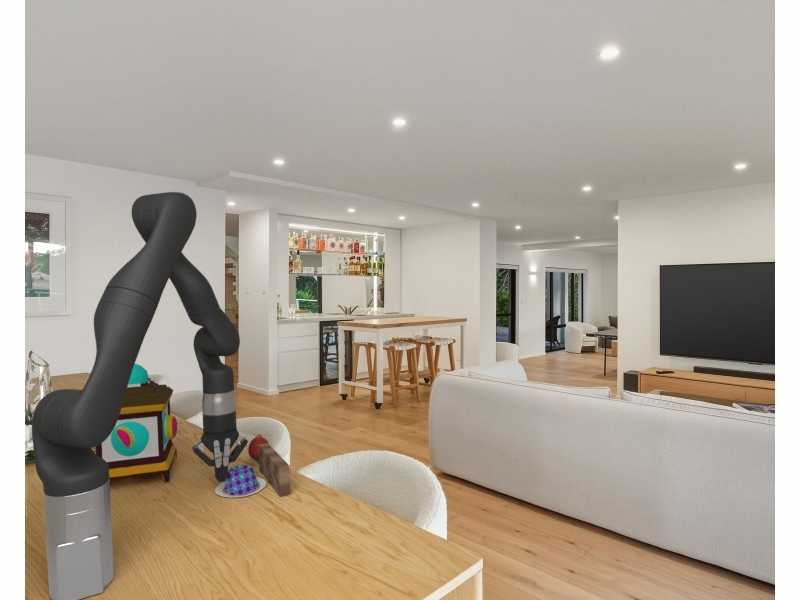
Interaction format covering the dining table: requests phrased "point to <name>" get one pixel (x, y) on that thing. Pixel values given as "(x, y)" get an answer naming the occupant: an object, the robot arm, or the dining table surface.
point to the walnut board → (274, 469)
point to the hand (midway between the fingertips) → (221, 480)
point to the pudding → (240, 482)
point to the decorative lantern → (141, 431)
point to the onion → (256, 446)
